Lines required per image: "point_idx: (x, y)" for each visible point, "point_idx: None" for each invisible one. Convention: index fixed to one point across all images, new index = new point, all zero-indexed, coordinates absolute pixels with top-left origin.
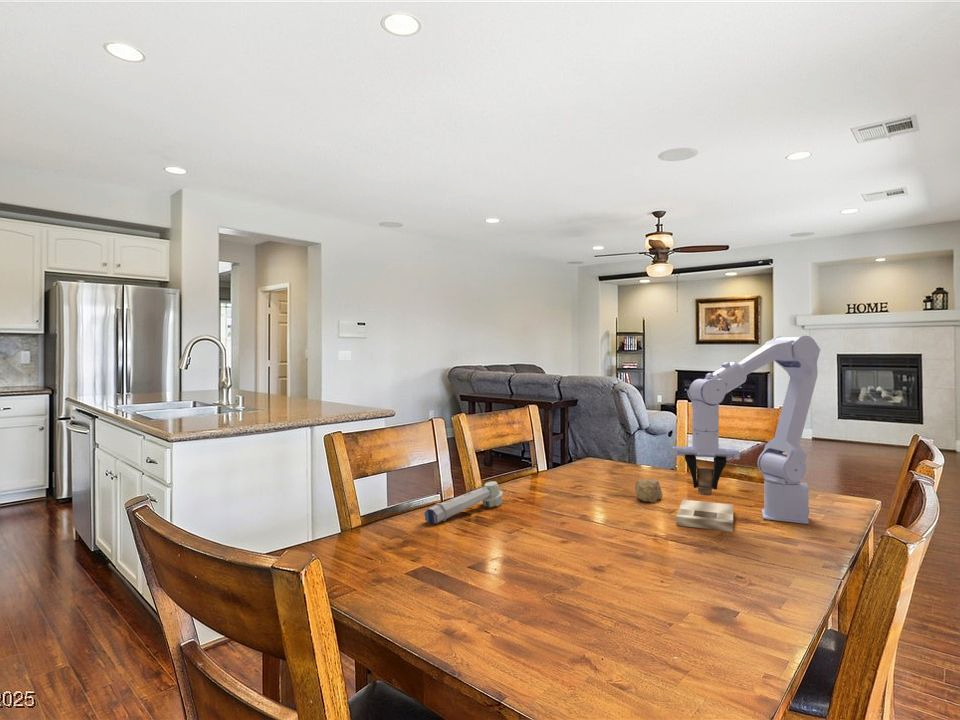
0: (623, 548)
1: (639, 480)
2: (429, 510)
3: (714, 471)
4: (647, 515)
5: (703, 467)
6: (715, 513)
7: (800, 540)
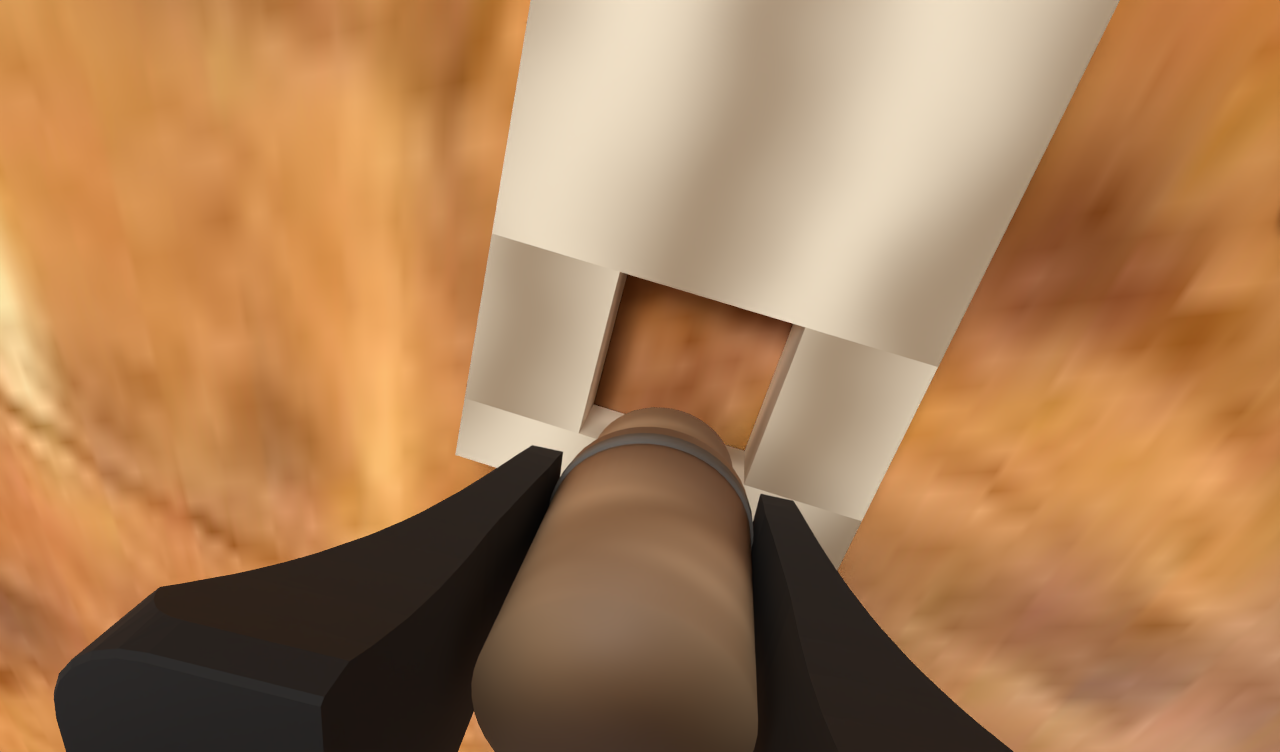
0: None
1: None
2: None
3: (761, 734)
4: (282, 215)
5: (594, 640)
6: (792, 322)
7: (1224, 658)
